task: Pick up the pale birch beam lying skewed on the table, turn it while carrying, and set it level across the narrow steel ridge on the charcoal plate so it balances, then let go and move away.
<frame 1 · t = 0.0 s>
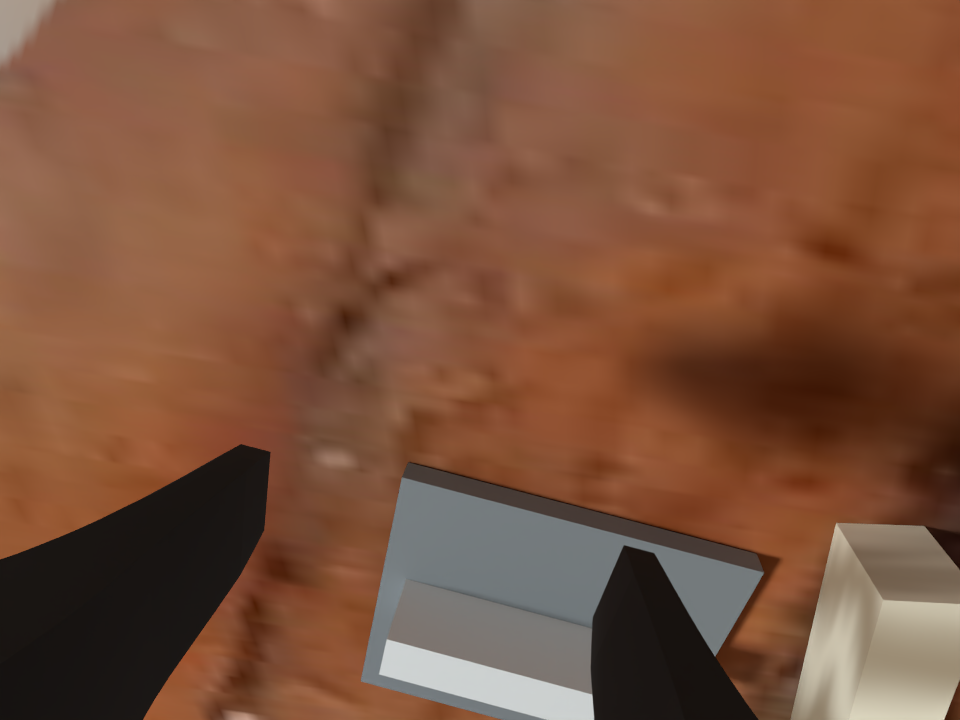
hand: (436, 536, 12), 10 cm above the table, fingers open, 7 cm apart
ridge: (541, 613, 26), on the table
birch beam: (832, 685, 26), on the table
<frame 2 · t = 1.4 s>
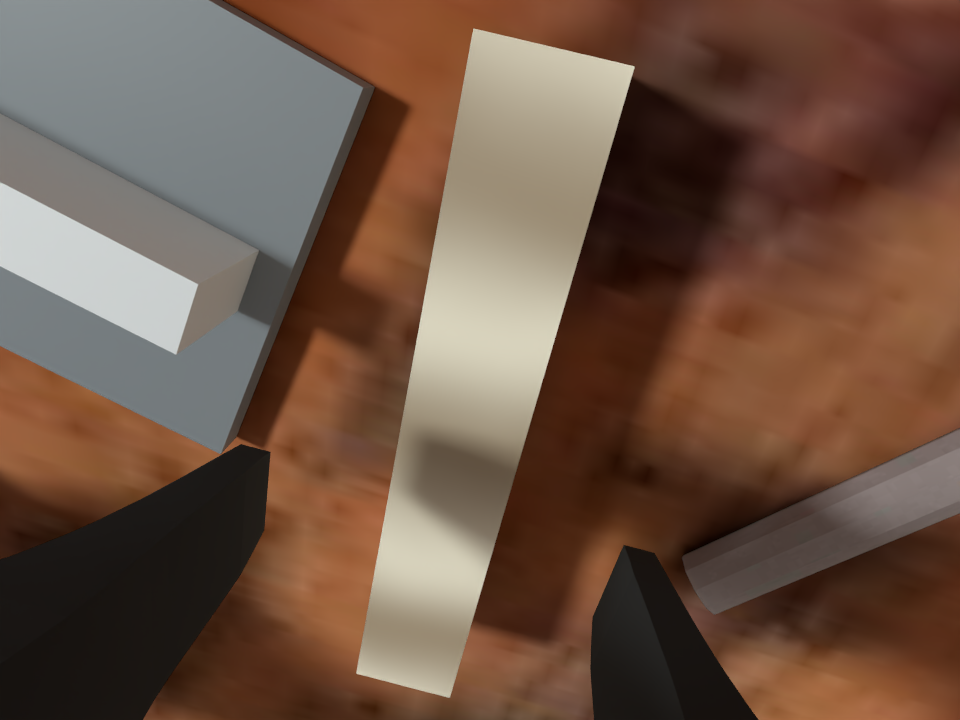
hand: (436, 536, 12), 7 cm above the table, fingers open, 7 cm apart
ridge: (68, 168, 17), on the table
birch beam: (478, 378, 18), on the table
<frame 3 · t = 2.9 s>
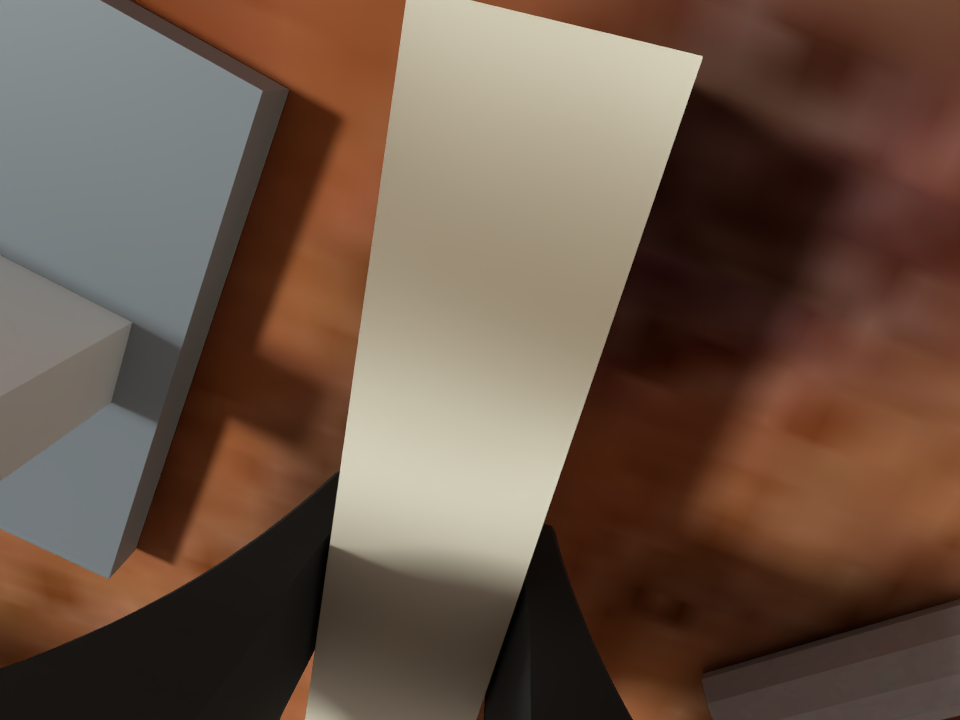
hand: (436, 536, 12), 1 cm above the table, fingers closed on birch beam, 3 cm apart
birch beam: (450, 487, 14), on the table, touching gripper
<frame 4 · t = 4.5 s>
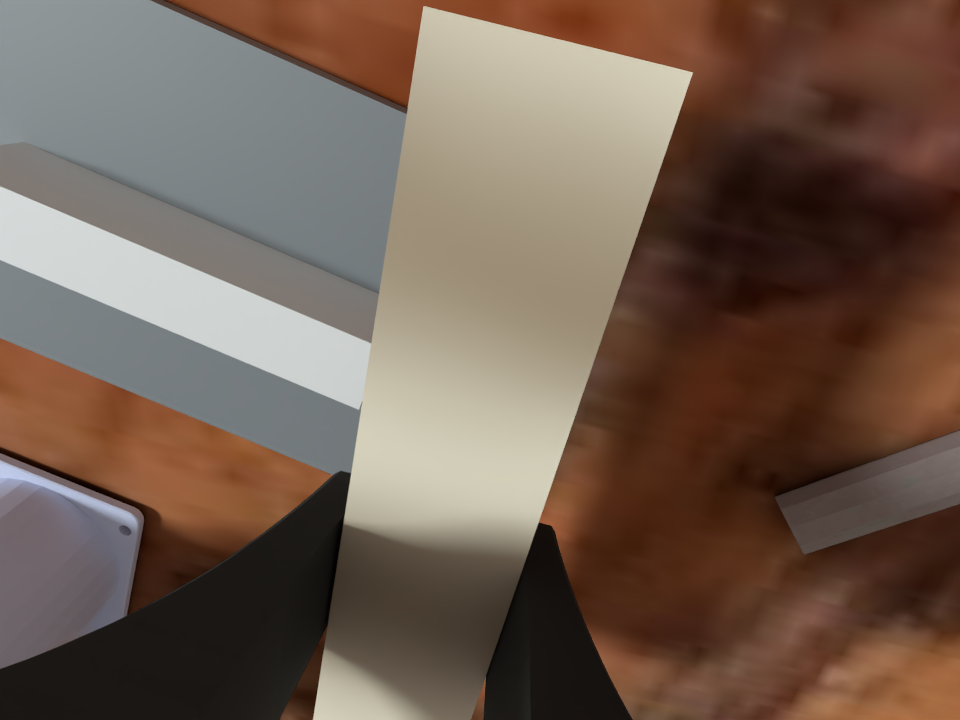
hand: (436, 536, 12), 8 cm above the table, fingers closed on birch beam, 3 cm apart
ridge: (230, 248, 19), on the table
birch beam: (454, 475, 14), point 6 cm above the table, touching gripper
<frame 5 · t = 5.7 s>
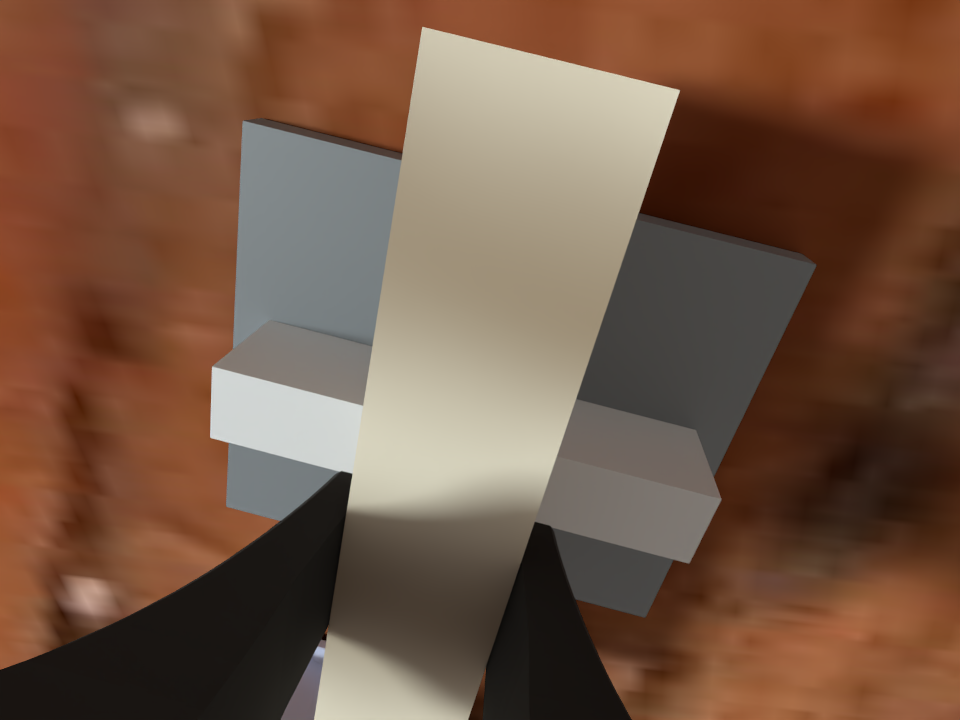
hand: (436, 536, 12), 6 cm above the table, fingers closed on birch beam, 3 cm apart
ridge: (478, 388, 18), on the table
birch beam: (453, 477, 14), point 4 cm above the table, touching gripper, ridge
when the fingers open (6 cm above the table, at t = 6.2 s): birch beam stays where it is, resting on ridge.
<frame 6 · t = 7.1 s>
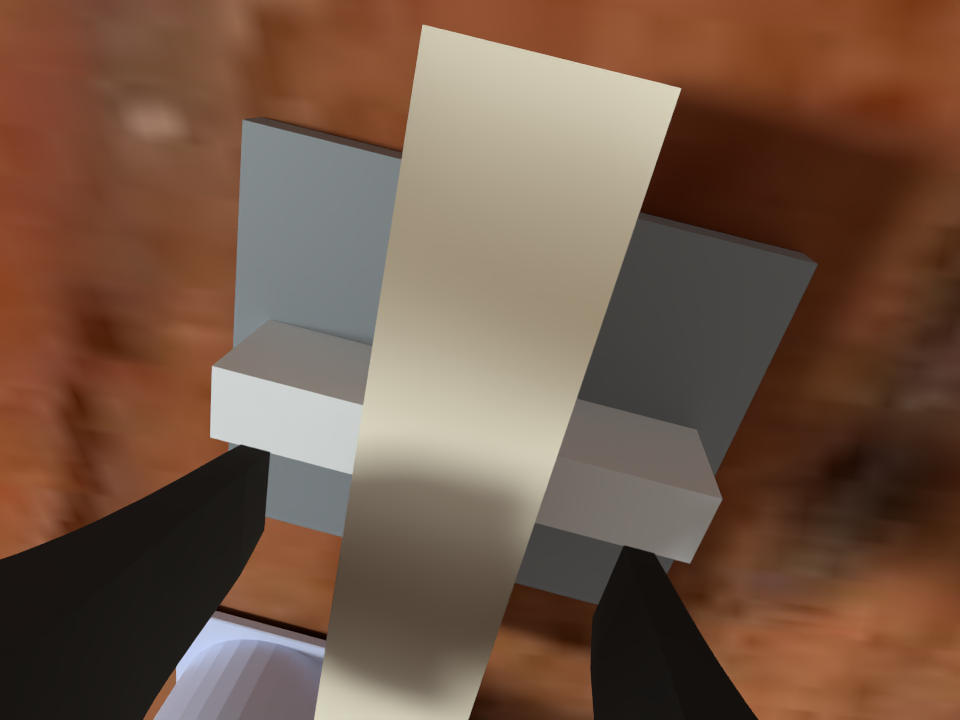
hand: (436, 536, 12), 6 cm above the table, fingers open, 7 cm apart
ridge: (478, 388, 18), on the table
birch beam: (453, 477, 14), point 4 cm above the table, touching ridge
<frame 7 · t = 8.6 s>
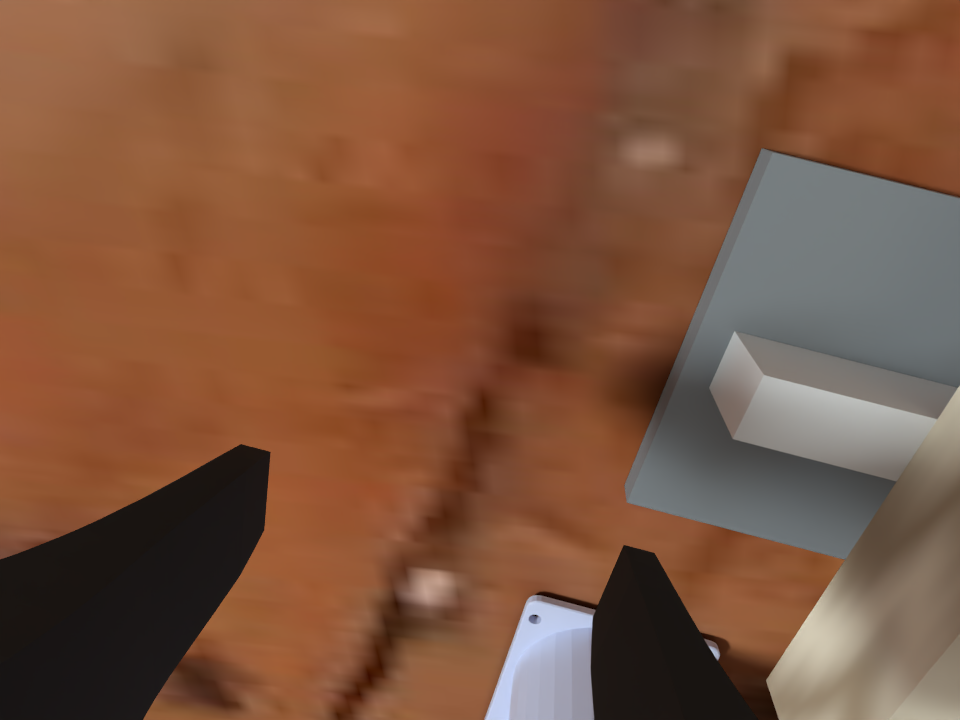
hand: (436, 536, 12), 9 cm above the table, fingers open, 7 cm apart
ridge: (897, 393, 19), on the table
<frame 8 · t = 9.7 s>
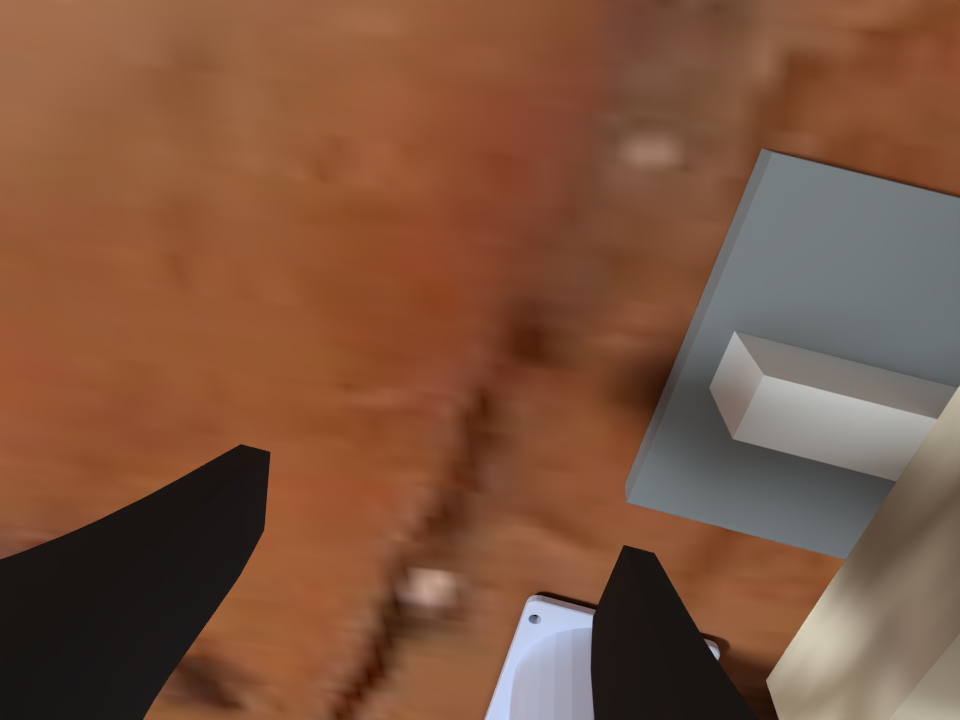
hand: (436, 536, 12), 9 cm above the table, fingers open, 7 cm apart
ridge: (897, 393, 19), on the table
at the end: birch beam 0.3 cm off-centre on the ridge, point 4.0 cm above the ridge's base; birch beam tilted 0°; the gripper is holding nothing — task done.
